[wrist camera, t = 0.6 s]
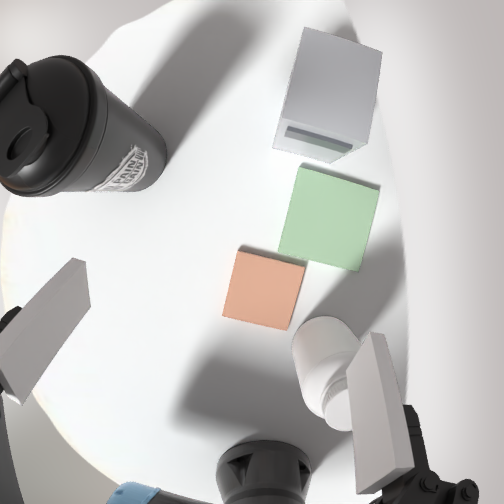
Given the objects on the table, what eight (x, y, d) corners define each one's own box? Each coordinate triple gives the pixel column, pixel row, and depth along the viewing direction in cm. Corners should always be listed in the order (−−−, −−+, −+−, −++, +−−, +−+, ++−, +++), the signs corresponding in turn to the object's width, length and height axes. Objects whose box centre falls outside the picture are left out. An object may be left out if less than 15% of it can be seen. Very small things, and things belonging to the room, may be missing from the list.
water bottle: (124, 215, 36) (-13, 232, 14) (86, 152, 35) (-49, 119, 13) (189, 164, 36) (98, 110, 13) (146, 102, 34) (42, 11, 12)
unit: (329, 166, 35) (366, 148, 23) (271, 151, 35) (280, 122, 22) (344, 93, 34) (382, 48, 21) (289, 77, 34) (305, 23, 21)
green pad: (356, 270, 37) (358, 272, 36) (277, 251, 37) (278, 252, 36) (376, 191, 36) (379, 191, 35) (298, 167, 36) (299, 166, 35)
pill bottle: (354, 312, 38) (402, 367, 23) (347, 368, 39) (384, 437, 24) (292, 314, 38) (312, 375, 23) (289, 370, 39) (304, 447, 24)
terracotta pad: (286, 328, 38) (286, 330, 38) (222, 313, 38) (222, 315, 37) (304, 266, 37) (305, 267, 36) (237, 250, 37) (237, 251, 36)
